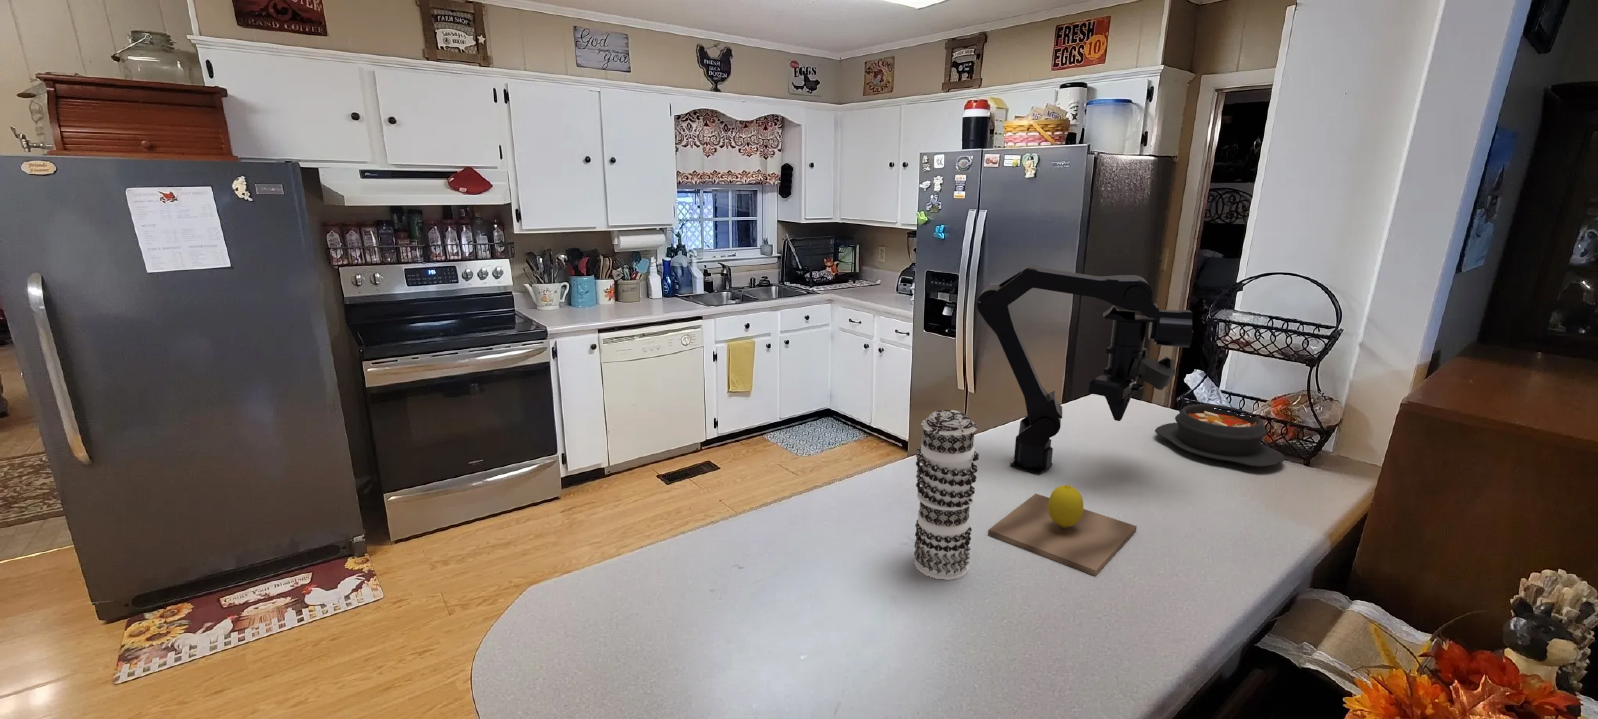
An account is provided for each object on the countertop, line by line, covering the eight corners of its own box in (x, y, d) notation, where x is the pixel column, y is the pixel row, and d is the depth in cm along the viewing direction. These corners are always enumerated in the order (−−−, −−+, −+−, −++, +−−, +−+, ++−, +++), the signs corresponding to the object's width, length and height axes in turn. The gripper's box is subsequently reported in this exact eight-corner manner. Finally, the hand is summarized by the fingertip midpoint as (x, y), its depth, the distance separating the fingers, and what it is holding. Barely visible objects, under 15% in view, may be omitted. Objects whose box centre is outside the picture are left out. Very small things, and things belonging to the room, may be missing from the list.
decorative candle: (933, 542, 114) (940, 400, 108) (982, 564, 108) (993, 414, 101) (899, 564, 108) (904, 415, 101) (949, 588, 102) (958, 431, 95)
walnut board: (987, 534, 117) (988, 529, 116) (1035, 498, 129) (1035, 493, 129) (1095, 576, 105) (1096, 570, 104) (1136, 531, 117) (1136, 525, 117)
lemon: (1075, 520, 119) (1080, 478, 117) (1084, 537, 114) (1090, 493, 111) (1042, 518, 120) (1046, 476, 117) (1050, 535, 114) (1054, 491, 112)
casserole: (1300, 461, 144) (1308, 424, 141) (1253, 483, 134) (1261, 443, 132) (1183, 425, 164) (1188, 391, 162) (1135, 441, 155) (1140, 406, 153)
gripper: (1157, 360, 118) (1145, 445, 123) (1188, 340, 131) (1177, 417, 136) (1091, 349, 126) (1082, 429, 130) (1127, 331, 139) (1118, 404, 143)
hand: (1117, 420), depth 134 cm, fingers closed
